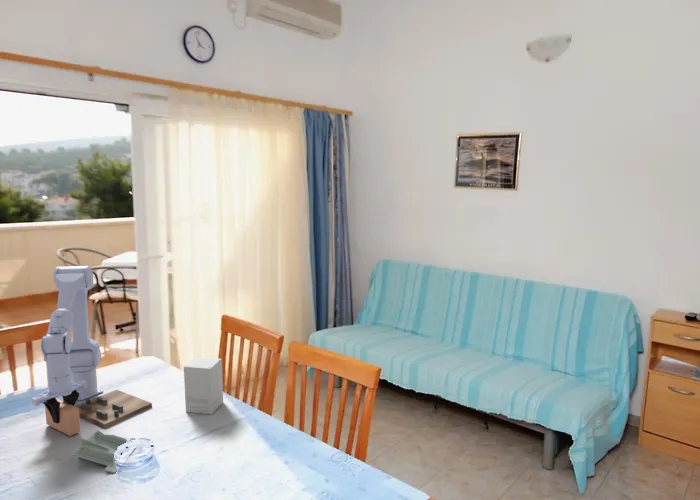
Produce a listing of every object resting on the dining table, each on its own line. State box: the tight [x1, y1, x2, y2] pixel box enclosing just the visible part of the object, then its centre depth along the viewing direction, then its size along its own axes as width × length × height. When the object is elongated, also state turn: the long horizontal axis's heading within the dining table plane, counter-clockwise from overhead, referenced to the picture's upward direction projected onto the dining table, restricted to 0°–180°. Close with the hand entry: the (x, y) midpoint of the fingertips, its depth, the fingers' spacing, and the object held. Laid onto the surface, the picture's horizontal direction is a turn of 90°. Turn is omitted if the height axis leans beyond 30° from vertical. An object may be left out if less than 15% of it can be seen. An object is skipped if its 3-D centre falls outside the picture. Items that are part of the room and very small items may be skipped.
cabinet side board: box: [75, 389, 153, 429], centre depth 159 cm, size 18×16×3 cm
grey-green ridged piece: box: [72, 430, 136, 474], centre depth 134 cm, size 14×6×15 cm
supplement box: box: [183, 356, 224, 415], centre depth 161 cm, size 9×9×15 cm
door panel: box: [44, 397, 81, 437], centre depth 146 cm, size 12×3×7 cm, turn 58°
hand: (62, 419), depth 146 cm, fingers closed on door panel, 3 cm apart
